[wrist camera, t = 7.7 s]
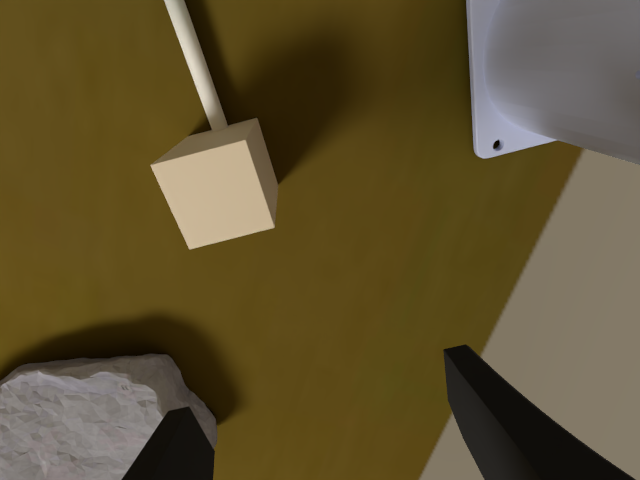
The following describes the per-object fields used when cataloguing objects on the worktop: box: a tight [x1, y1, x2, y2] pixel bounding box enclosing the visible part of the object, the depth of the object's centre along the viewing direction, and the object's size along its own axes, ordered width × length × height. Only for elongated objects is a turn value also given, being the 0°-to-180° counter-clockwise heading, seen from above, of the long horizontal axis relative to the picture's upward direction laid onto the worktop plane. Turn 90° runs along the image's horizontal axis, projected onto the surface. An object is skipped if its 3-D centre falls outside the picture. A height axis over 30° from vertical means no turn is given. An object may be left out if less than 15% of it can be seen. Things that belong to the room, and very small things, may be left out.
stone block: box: [0, 354, 217, 480], centre depth 22 cm, size 12×5×10 cm
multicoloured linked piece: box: [151, 0, 278, 249], centre depth 12 cm, size 15×4×5 cm, turn 13°
